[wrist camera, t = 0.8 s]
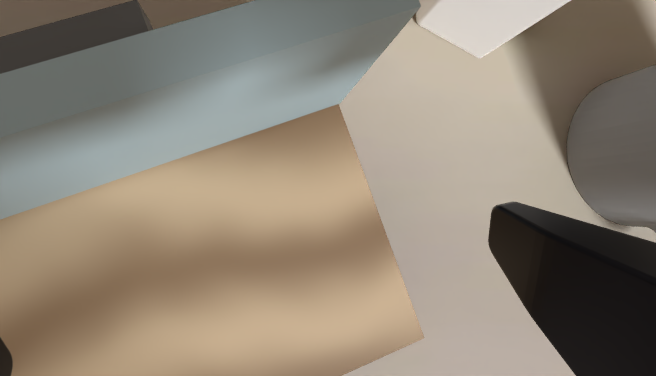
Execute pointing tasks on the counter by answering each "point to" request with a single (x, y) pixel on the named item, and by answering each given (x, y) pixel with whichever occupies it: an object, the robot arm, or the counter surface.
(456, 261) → the counter surface
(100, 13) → the grey flat slab
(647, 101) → the grey mug
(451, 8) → the jar
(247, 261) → the cart bed
